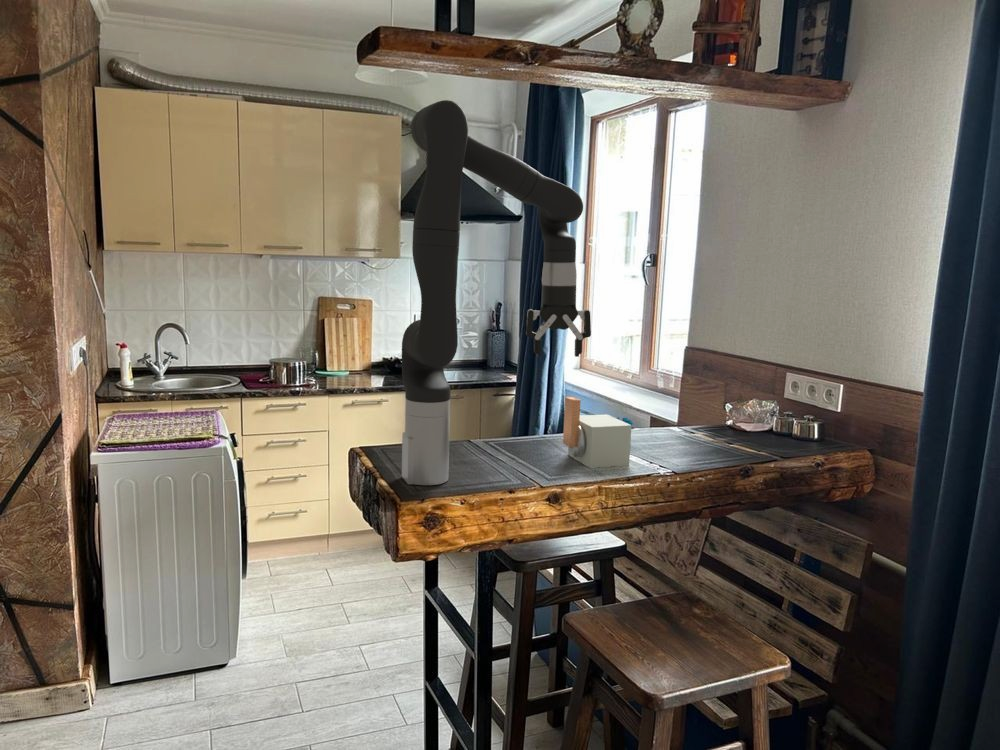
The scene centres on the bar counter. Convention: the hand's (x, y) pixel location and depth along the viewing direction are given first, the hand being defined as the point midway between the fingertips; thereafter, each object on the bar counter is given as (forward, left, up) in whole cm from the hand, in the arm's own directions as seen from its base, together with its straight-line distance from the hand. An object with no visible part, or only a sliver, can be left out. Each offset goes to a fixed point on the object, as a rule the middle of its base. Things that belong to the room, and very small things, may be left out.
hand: (557, 356), depth 165 cm
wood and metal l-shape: (+9, +1, -24) cm, 25 cm away
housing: (+12, +1, -25) cm, 28 cm away
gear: (+23, +15, -25) cm, 38 cm away
